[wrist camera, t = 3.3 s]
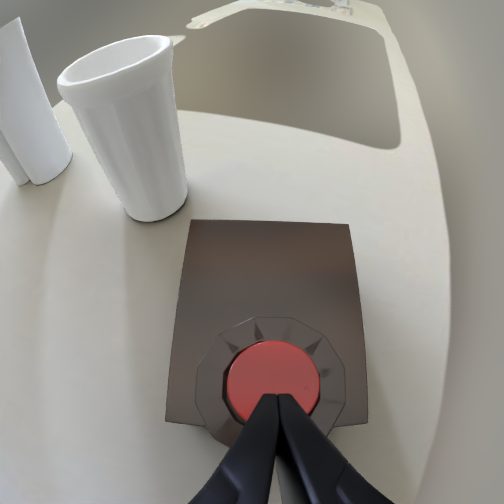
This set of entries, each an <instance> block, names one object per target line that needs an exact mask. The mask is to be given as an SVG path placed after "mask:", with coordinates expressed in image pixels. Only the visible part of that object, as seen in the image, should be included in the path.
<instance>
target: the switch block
mask: <svg viewBox="0 0 504 504" xmlns="http://www.w3.org/2000/svg"><path fill="white" fill-rule="evenodd" d="M265 341H283V342H287V343H290V344H293V345H295V346H297V347H299V348H300V349H302V350H303V351H304V352H306V353H307V354H308V355H309V356H310V358H311V359H312V360H313V362H314V363H315V365H316V367H317V370H318V373H319V377H320V391H319V396H318V399H317V401H316V404H315V406H314V407H313V409H312V410H311V411H310V413H309V414H308V415H309V416H310V418H311V419H312V420H313V421H314V422H315V424H316V425H317V426H318V427H319V428H320V430H321V431H322V432H323V433H324V434H325V435H326V437H327V436H328V434H329V433H330V431H331V429H332V428H333V427H340V426H350V425H358V424H366V423H368V394H367V372H366V357H365V343H364V332H363V322H362V312H361V303H360V295H359V287H358V280H357V273H356V266H355V259H354V253H353V247H352V241H351V235H350V229H349V225H348V224H332V223H310V222H283V221H250V220H195V219H192V220H191V222H190V228H189V233H188V239H187V245H186V250H185V256H184V262H183V269H182V275H181V282H180V288H179V295H178V302H177V309H176V317H175V325H174V333H173V341H172V350H171V359H170V369H169V379H168V390H167V402H166V416H165V421H166V422H172V423H179V424H187V425H196V426H206V427H207V428H208V429H209V431H210V433H211V435H212V437H214V439H216V440H218V441H219V442H221V443H223V444H224V445H226V446H228V447H229V448H230V447H231V446H232V444H233V443H234V441H235V439H236V438H237V436H238V435H239V433H240V431H241V430H242V428H243V426H244V425H245V423H246V422H247V421H246V420H244V419H243V418H242V417H241V416H240V415H239V414H238V413H237V412H236V411H235V409H234V408H233V406H232V404H231V402H230V400H229V397H228V392H227V378H228V374H229V371H230V368H231V366H232V364H233V363H234V361H235V360H236V358H237V357H238V356H239V355H240V354H241V353H242V352H243V351H245V350H246V349H247V348H249V347H251V346H253V345H255V344H257V343H261V342H265Z"/></svg>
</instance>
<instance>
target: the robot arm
mask: <svg viewBox="0 0 504 504" xmlns="http://www.w3.org/2000/svg"><path fill="white" fill-rule="evenodd" d="M275 459H276V467H277V473H278V480H279V486H280V492H281V499H282V504H394V503H393V502H392V501H390V500H389V499H388V498H386V497H385V496H384V495H383V494H381V493H380V492H379V491H378V490H376V489H375V488H374V487H373V486H372V485H371V484H370V483H368V482H367V481H366V480H365V479H364V478H363V477H362V476H361V475H360V474H359V473H358V472H357V471H356V470H355V468H354V467H353V466H352V465H351V464H350V463H348V461H347V460H346V458H345V457H344V456H343V455H342V454H341V453H340V452H339V450H338V449H337V448H336V447H335V446H334V445H333V444H332V442H331V441H330V440H329V439H328V438H327V437H326V435H325V434H324V433H323V432H322V431H321V430H320V428H319V427H318V426H317V425H316V424H315V422H314V421H313V420H312V419H311V418H310V416H309V415H308V414H307V413H306V412H305V410H304V409H303V408H302V407H301V406H300V404H299V403H298V402H297V401H296V399H295V398H294V397H293V396H292V395H291V394H289V393H279V394H278V395H276V394H275V393H264V394H263V395H262V396H261V398H260V400H259V401H258V403H257V405H256V406H255V408H254V410H253V412H252V413H251V415H250V417H249V418H248V420H247V422H246V423H245V425H244V426H243V428H242V430H241V431H240V433H239V435H238V436H237V438H236V439H235V441H234V443H233V444H232V446H231V447H230V449H229V450H228V452H227V454H226V455H225V457H224V458H223V460H222V461H221V463H220V464H219V467H217V469H216V470H215V472H214V473H213V474H212V476H211V477H210V479H209V480H208V481H207V483H206V484H205V485H204V487H203V488H202V489H201V490H200V491H199V492H198V493H197V494H196V496H195V497H194V498H193V499H192V500H191V501H190V502H189V503H188V504H268V499H269V493H270V487H271V481H272V475H273V468H274V461H275Z"/></svg>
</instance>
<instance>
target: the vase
mask: <svg viewBox="0 0 504 504" xmlns="http://www.w3.org/2000/svg"><path fill="white" fill-rule="evenodd" d="M71 158H72V151H71V149H70V147H69V145H68V143H67V141H66V139H65V136H64V134H63V132H62V130H61V128H60V126H59V123H58V121H57V119H56V117H55V114H54V112H53V110H52V108H51V105H50V103H49V101H48V98H47V96H46V93H45V91H44V88H43V86H42V83H41V81H40V78H39V75H38V73H37V70H36V67H35V64H34V62H33V59H32V56H31V53H30V50H29V47H28V44H27V41H26V38H25V34H24V31H23V28H22V24H21V21H20V18H17V19H15V20H13V21H11V22H10V23H8V24H6V25H5V26H3V27H2V28H0V159H1V161H2V162H3V164H4V166H5V167H6V169H7V170H8V172H9V173H10V175H11V176H12V178H13V179H14V181H15V182H16V183H17V185H19V186H21V185H24V184H25V183H27V182H28V181H29V180H31V181H32V183H33V184H36V185H41V184H44V183H47V182H49V181H51V180H52V179H54V178H55V177H57V176H58V175H59V174H60V173H61V172H62V171H63V170H64V169H65V168H66V167H67V165H68V164H69V162H70V161H71Z"/></svg>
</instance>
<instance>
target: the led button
mask: <svg viewBox="0 0 504 504" xmlns="http://www.w3.org/2000/svg"><path fill="white" fill-rule="evenodd" d="M319 391H320V377H319V373H318V370H317V367H316V365H315V363H314V362H313V360H312V359H311V358H310V356H309V355H308V354H307V353H306V352H304V351H303V350H302V349H300V348H299V347H297V346H295V345H293V344H290V343H287V342H283V341H265V342H261V343H257V344H255V345H253V346H251V347H249V348H247V349H246V350H245V351H243V352H242V353H241V354H240V355H239V356H238V357H237V358H236V360H235V361H234V363H233V364H232V366H231V368H230V371H229V374H228V378H227V392H228V397H229V400H230V402H231V404H232V406H233V408H234V409H235V411H236V412H237V413H238V414H239V415H240V416H241V417H242V418H243V419H244V420H246V421H247V420H248V418H249V417H250V415H251V413H252V412H253V410H254V408H255V406H256V405H257V403H258V401H259V400H260V398H261V396H262V395H263V394H264V393H275V394H276V395H278V394H279V393H289V394H291V395H292V396H293V397H294V398H295V399H296V401H297V402H298V403H299V404H300V406H301V407H302V408H303V409H304V410H305V412H306V413H307V414H309V413H310V411H311V410H312V409H313V407H314V406H315V404H316V401H317V399H318V396H319Z"/></svg>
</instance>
